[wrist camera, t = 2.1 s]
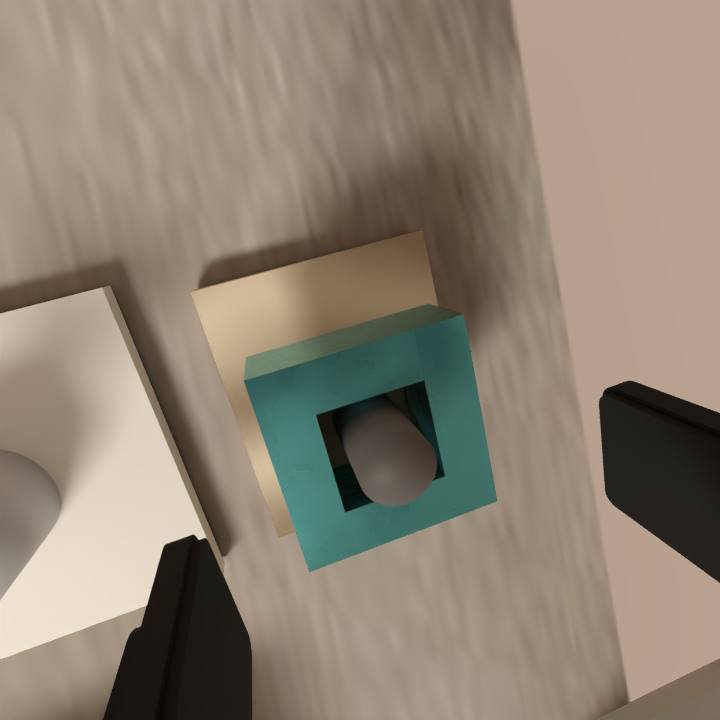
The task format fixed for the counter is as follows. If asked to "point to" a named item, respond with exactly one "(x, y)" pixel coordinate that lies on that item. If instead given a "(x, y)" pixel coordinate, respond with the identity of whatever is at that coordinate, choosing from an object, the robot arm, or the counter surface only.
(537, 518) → the counter surface
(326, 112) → the counter surface
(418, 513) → the teal square frame
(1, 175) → the counter surface
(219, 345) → the stand
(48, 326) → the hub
